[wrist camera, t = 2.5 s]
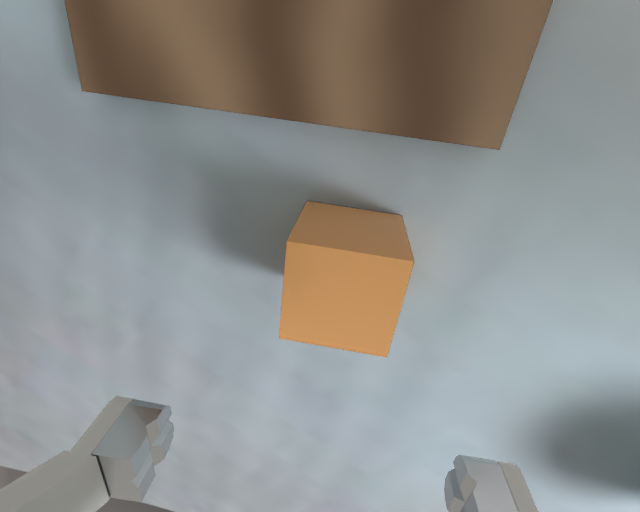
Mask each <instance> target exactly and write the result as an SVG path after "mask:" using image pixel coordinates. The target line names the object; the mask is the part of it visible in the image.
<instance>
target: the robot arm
mask: <svg viewBox="0 0 640 512" xmlns="http://www.w3.org/2000/svg"><path fill="white" fill-rule="evenodd" d="M171 414H172V412H171V407H170V406H168V405H163V404H157V403H152V402H146V401H141V400H136V399H131V398H125V397H119V396H116V397H115V398H114V399H112V400H111V401H110V402H109V403H108V404H107V406H106V407H105V408H104V409H103V411H102V412H101V413H100V414H99V416H98V417H97V418H96V419H95V421H94V422H93V423H92V425H91V426H90V427H89V428H88V430H87V431H86V432H85V433H84V435H83V436H82V437H81V438H80V440H79V441H78V442H77V443H76V445H75V446H74V447H73V448H72V450H71V451H63V452H62V453H60V454H58V455H57V456H55V457H53V458H52V459H50V460H48V461H47V462H45V463H43V464H42V465H40V466H38V467H37V468H35V469H33V470H32V471H30V472H28V473H27V474H25V475H23V476H22V477H20V478H18V479H17V480H15V481H13V482H12V483H10V484H8V485H7V486H5V487H3V488H2V489H0V512H96V511H97V510H98V509H99V508H100V507H102V506H103V505H104V504H105V503H106V502H107V501H109V497H110V498H117V499H124V500H130V501H137V502H142V500H143V498H144V496H145V494H146V492H147V490H148V489H149V487H150V485H151V483H152V481H153V479H154V477H155V470H154V466H155V465H157V464H158V463H159V462H161V461H162V460H164V458H165V456H166V454H167V452H168V450H169V448H170V445H171V442H172V439H173V432H174V427H173V423H172V422H171V421H170V420H169V418H170V416H171ZM453 463H454V467H455V469H453V470H451V471H449V472H448V474H447V476H446V479H445V488H444V491H445V501H446V506H447V510H448V511H449V512H538V510H537V508H536V505H535V503H534V501H533V498H532V496H531V494H530V491H529V489H528V487H527V484H526V482H525V480H524V477H523V475H522V473H521V470H520V469H519V468H518V466H517V465H515V464H512V463H505V462H499V461H495V460H490V459H483V458H477V457H470V456H463V455H458V456H456V458H455V460H454V462H453Z"/></svg>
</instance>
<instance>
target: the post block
mask: <svg viewBox="0 0 640 512" xmlns="http://www.w3.org/2000/svg"><path fill="white" fill-rule="evenodd" d="M552 2H553V0H65V5H66V10H67V15H68V21H69V26H70V31H71V36H72V41H73V46H74V51H75V57H76V62H77V67H78V72H79V77H80V82H81V88H82V91H86V92H93V93H100V94H107V95H114V96H121V97H128V98H135V99H142V100H150V101H157V102H164V103H171V104H178V105H185V106H192V107H199V108H206V109H213V110H220V111H228V112H235V113H242V114H249V115H256V116H263V117H270V118H277V119H284V120H291V121H299V122H306V123H313V124H320V125H327V126H334V127H341V128H348V129H355V130H362V131H369V132H377V133H384V134H391V135H398V136H405V137H412V138H419V139H426V140H433V141H440V142H447V143H455V144H462V145H469V146H476V147H483V148H490V149H497V150H500V147H501V144H502V141H503V138H504V136H505V133H506V130H507V127H508V124H509V122H510V119H511V116H512V113H513V111H514V108H515V105H516V102H517V99H518V97H519V94H520V91H521V88H522V85H523V83H524V80H525V77H526V74H527V71H528V69H529V66H530V63H531V60H532V58H533V55H534V52H535V49H536V46H537V44H538V41H539V38H540V35H541V32H542V30H543V27H544V24H545V21H546V18H547V16H548V13H549V10H550V7H551V5H552Z"/></svg>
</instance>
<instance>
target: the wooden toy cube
mask: <svg viewBox="0 0 640 512" xmlns="http://www.w3.org/2000/svg"><path fill="white" fill-rule="evenodd" d="M413 265H414V258H413V255H412V251H411V247H410V243H409V240H408V236H407V232H406V229H405V225H404V221H403V218H402V215H396V214H389V213H383V212H376V211H370V210H363V209H357V208H350V207H344V206H337V205H331V204H324V203H318V202H311V201H307V202H306V204H305V206H304V208H303V210H302V212H301V214H300V216H299V218H298V220H297V222H296V224H295V226H294V227H293V229H292V231H291V233H290V235H289V237H288V239H287V243H286V256H285V269H284V281H283V294H282V307H281V320H280V332H279V338H280V339H286V340H292V341H297V342H303V343H309V344H314V345H320V346H326V347H331V348H337V349H343V350H348V351H354V352H360V353H365V354H371V355H377V356H382V357H387V356H388V352H389V349H390V345H391V342H392V338H393V335H394V331H395V328H396V324H397V321H398V317H399V314H400V310H401V307H402V303H403V300H404V296H405V293H406V289H407V286H408V282H409V279H410V275H411V272H412V268H413Z"/></svg>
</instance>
